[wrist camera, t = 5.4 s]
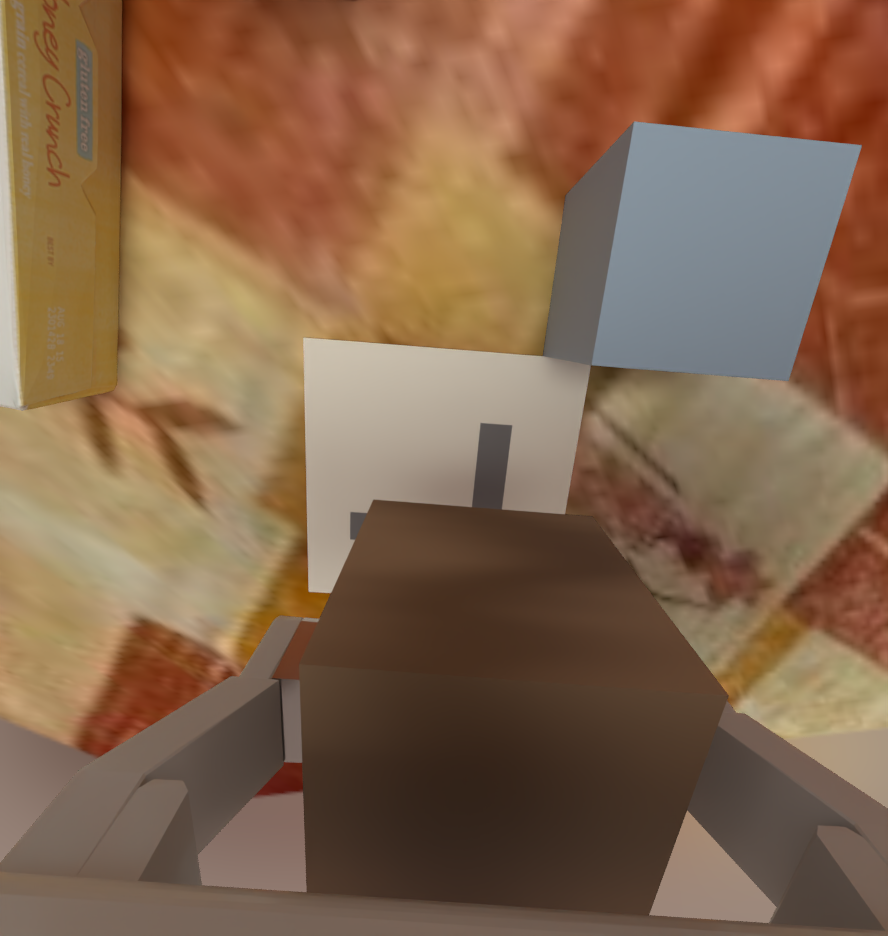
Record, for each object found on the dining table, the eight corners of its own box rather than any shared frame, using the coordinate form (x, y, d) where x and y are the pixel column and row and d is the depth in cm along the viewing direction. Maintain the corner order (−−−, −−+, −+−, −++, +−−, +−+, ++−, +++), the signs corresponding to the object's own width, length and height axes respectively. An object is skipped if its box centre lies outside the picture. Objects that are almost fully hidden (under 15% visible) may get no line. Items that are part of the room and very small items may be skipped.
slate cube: (715, 210, 17) (861, 145, 11) (678, 367, 18) (788, 381, 13) (564, 195, 16) (634, 121, 11) (542, 356, 18) (591, 365, 12)
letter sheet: (589, 359, 18) (591, 360, 18) (547, 601, 22) (549, 605, 21) (305, 337, 18) (303, 337, 17) (310, 588, 21) (308, 592, 21)
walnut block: (592, 516, 10) (729, 695, 5) (557, 688, 11) (635, 950, 7) (373, 499, 10) (299, 664, 5) (368, 675, 11) (307, 930, 6)
